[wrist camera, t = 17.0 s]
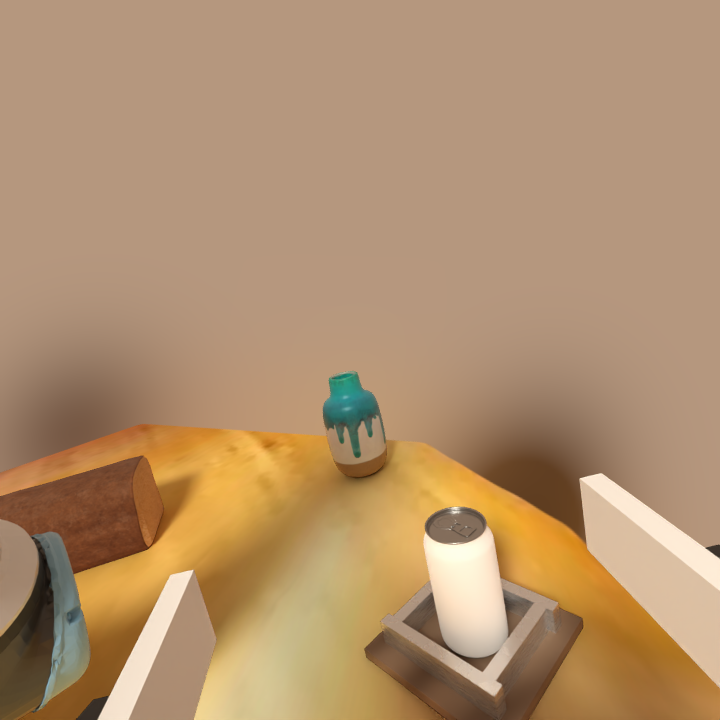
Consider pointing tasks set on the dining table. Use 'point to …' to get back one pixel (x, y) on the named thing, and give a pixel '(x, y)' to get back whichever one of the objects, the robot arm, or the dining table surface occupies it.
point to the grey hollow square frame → (458, 674)
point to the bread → (92, 512)
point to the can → (466, 581)
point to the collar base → (452, 705)
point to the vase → (354, 426)
